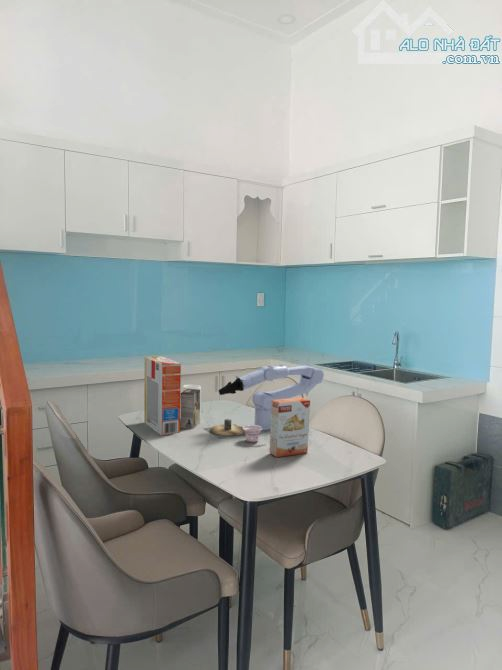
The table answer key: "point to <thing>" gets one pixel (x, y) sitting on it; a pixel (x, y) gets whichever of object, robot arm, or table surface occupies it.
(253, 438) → the teacup
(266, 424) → the robot arm
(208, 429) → the mat
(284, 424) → the cracker box
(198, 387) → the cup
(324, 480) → the table surface
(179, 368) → the pasta box
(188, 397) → the coffee box
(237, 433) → the lid
